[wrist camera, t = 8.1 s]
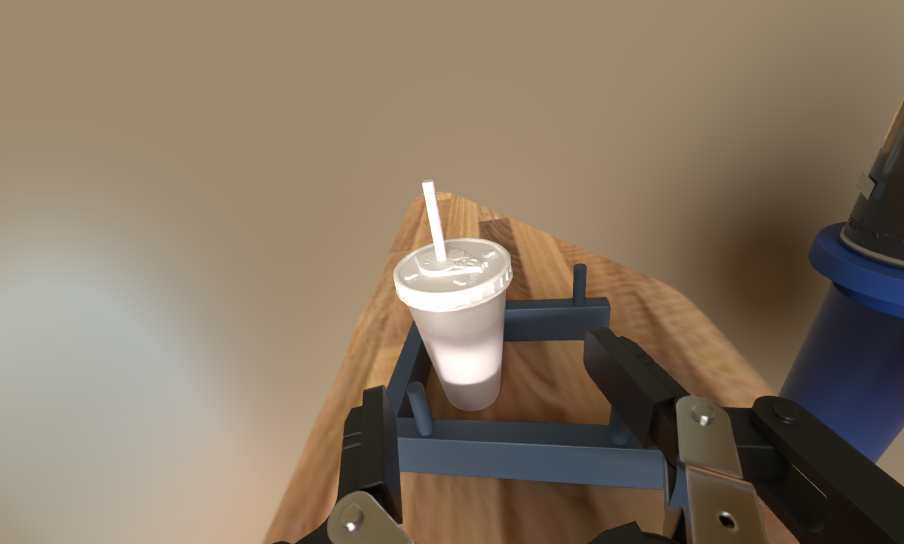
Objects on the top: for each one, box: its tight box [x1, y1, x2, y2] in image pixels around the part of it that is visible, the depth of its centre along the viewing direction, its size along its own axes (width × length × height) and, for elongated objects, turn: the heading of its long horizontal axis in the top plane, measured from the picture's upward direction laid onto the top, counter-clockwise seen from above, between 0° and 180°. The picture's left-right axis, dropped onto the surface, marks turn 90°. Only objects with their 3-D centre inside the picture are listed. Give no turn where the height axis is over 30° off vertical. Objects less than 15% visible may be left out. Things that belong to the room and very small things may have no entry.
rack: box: [386, 264, 663, 489], centre depth 21 cm, size 14×12×6 cm
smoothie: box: [393, 180, 513, 411], centre depth 19 cm, size 6×6×14 cm
